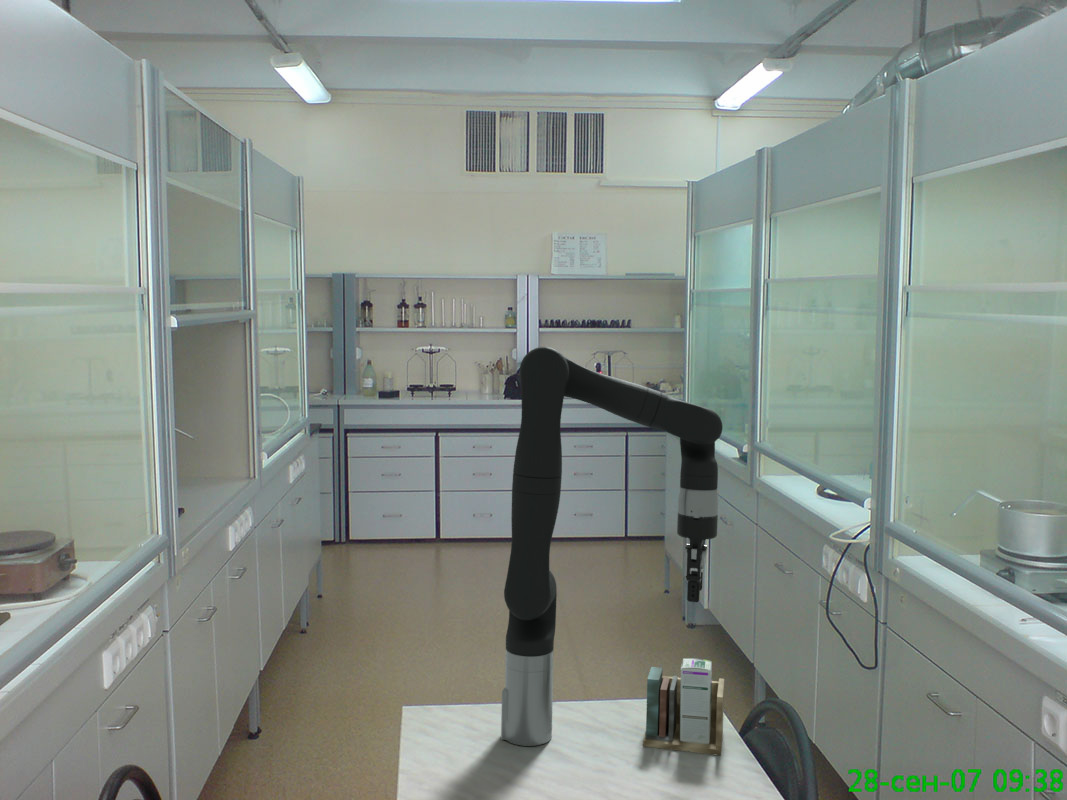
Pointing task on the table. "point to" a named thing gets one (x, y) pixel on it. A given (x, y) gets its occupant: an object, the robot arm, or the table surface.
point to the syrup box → (695, 701)
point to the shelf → (678, 715)
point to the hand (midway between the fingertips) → (694, 595)
